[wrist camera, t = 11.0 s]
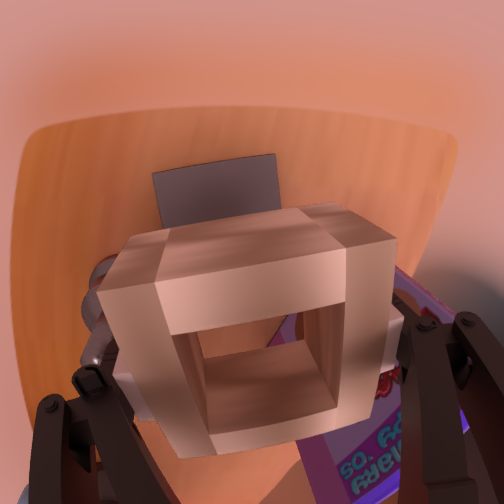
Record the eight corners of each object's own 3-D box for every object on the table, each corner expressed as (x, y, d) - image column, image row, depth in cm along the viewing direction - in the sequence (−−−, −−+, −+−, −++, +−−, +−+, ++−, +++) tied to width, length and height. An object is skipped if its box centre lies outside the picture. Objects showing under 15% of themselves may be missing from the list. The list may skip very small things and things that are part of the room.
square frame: (180, 385, 16) (179, 458, 11) (130, 235, 12) (96, 291, 8) (334, 355, 17) (369, 417, 12) (334, 201, 13) (397, 238, 9)
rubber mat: (174, 274, 32) (174, 277, 32) (153, 173, 28) (152, 174, 28) (284, 255, 34) (285, 257, 33) (273, 153, 29) (275, 154, 29)
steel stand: (105, 321, 33) (75, 400, 21) (83, 260, 30) (33, 327, 18) (167, 312, 34) (157, 396, 22) (149, 248, 31) (122, 316, 19)
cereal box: (338, 228, 34) (500, 364, 11) (368, 245, 35) (519, 371, 13) (265, 348, 38) (323, 522, 16) (296, 357, 39) (364, 515, 17)
